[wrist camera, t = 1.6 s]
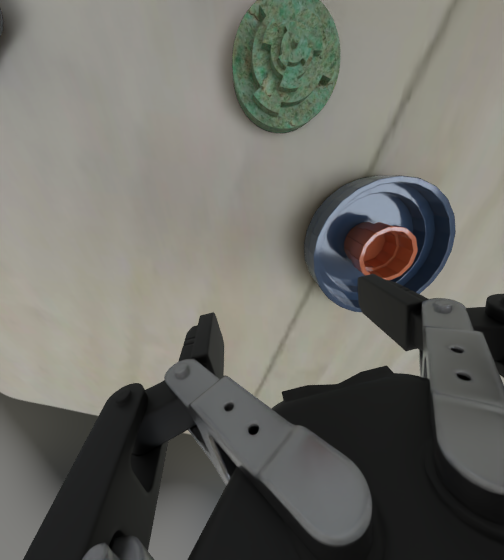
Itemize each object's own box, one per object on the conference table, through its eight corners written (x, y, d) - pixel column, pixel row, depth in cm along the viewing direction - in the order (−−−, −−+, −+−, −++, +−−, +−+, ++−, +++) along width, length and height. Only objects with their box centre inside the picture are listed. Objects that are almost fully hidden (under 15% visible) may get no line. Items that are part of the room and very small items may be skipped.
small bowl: (366, 207, 29) (392, 214, 24) (398, 237, 31) (429, 249, 26) (330, 248, 31) (348, 261, 26) (362, 273, 33) (384, 291, 28)
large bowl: (367, 145, 27) (393, 139, 22) (447, 228, 31) (483, 237, 27) (279, 254, 32) (285, 268, 27) (359, 312, 36) (376, 332, 31)
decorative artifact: (320, -11, 21) (218, 31, 22) (354, -92, 15) (209, -27, 16) (337, 114, 25) (250, 146, 26) (370, 93, 19) (253, 136, 20)
